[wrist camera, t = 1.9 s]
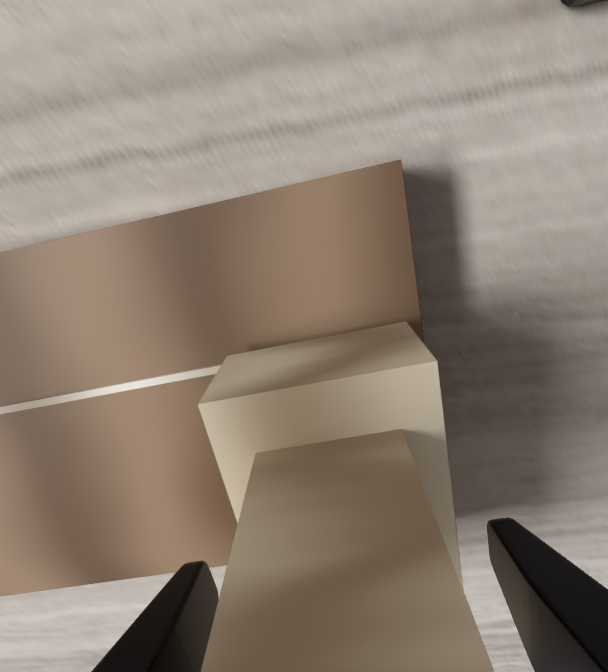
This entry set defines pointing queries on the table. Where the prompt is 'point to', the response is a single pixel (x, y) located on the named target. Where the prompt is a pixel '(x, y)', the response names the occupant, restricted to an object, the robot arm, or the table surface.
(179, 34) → the table surface
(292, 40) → the table surface
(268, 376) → the block
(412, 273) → the walnut board
